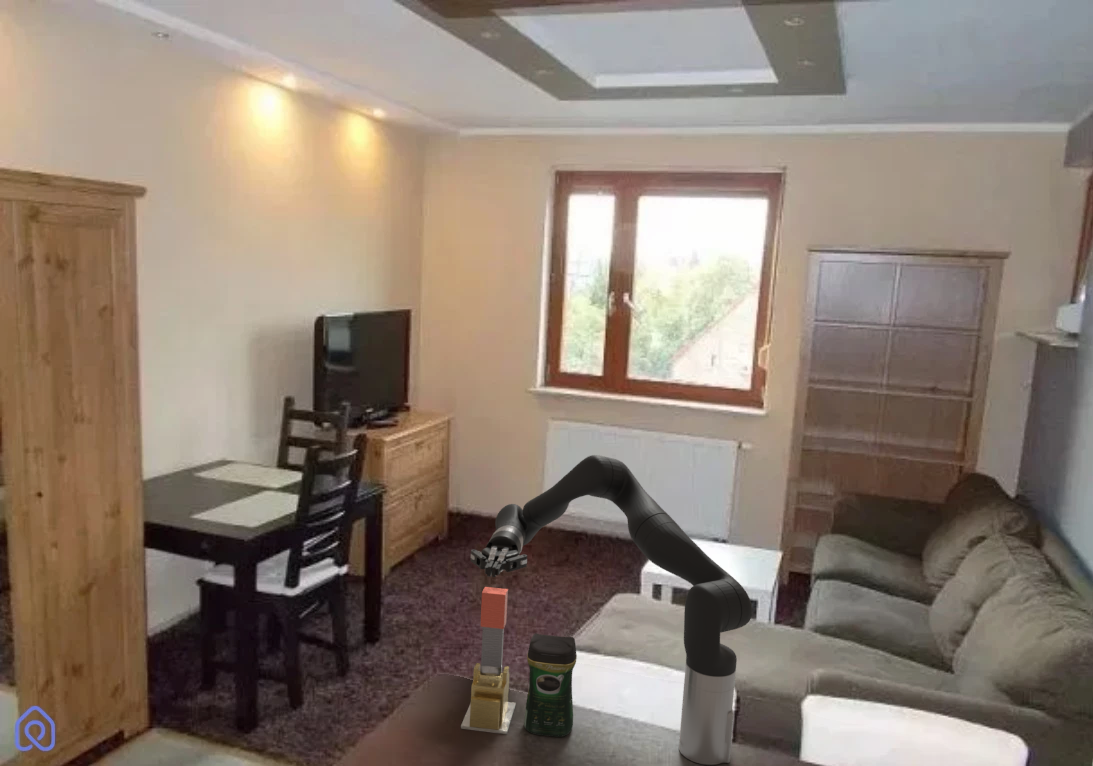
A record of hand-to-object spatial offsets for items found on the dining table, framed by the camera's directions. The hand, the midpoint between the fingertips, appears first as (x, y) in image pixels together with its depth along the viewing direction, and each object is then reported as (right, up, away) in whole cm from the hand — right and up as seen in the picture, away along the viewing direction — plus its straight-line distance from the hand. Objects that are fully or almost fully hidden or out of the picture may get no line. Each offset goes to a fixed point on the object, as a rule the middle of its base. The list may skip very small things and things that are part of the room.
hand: (491, 572), depth 170 cm
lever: (0, -19, -8) cm, 20 cm away
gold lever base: (0, -27, -7) cm, 28 cm away
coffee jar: (+12, -29, -9) cm, 32 cm away
